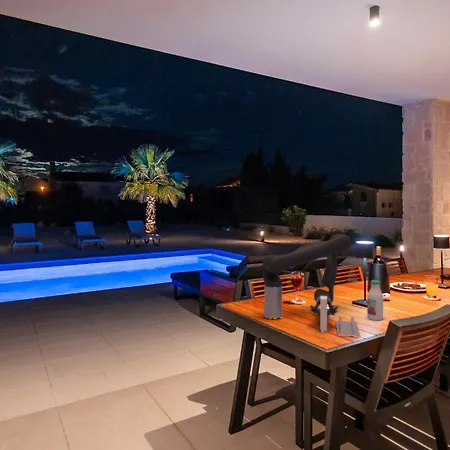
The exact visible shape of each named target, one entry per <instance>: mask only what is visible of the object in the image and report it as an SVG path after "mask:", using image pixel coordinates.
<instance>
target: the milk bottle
mask: <svg viewBox="0 0 450 450" xmlns="http://www.w3.org/2000/svg"><path fill="white" fill-rule="evenodd" d="M383 295H384V294H383V293H382V290H381V281H380V280H378V279H372V280H370V289H369V291H368V294H367V300H366V301H367V306H366V308H367V311H366V312H367V313H366V314H367V315H366V316H367V319H368V318H369V320H370V319H371V320H370V321H382V320H383V319H384V296H383Z"/></svg>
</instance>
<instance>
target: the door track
mask: <svg viewBox="0 0 450 450" xmlns="http://www.w3.org/2000/svg"><path fill="white" fill-rule="evenodd" d="M335 327H336V328H337V330H336V334H337V333H340V334H344V335H355V336H360V337H361V335H360V330H359V325H358V322H357V321H355V317H354V316H351V317H350V321H344V320H343V318H342V316H340V315H339V316H338V320H336V321H335Z"/></svg>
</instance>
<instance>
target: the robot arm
mask: <svg viewBox="0 0 450 450" xmlns="http://www.w3.org/2000/svg"><path fill="white" fill-rule="evenodd" d="M351 246H352V239H351V237H350V236H349V235H346V234H343V233H335V234H333V235H331V236H330V237H329V240H326V241H318V242H317V241H316V242H312V243H308V244H305V245H302V246H299V247H298V248H297V249H295V250H294V251H292V252H291V253H288V254H285V255H278V256H277V255H273V254H268V255H266V256H265V257H264V259H263V260H262V278H263V282H264V300H263V314H264V315H263V317H268V318H280V317H282V318H283V280H282V278H281V276H280V273H284V272H285V271H287V270H289V269H291V268H295V267H298V266H302V265H304V264H307V263H310V262H312V261H313V262H314V261H316V260H318V259H321V258H324V257H326V262H325V263H326V264H325V267H324V271H323V275H322V278H321V280H320V281H321V284H322V285H323V286H325V287H326V288H327V289H328V290H325V289H323V288H317V289H315V291H314V293H313V299H314V301H315V305H310V306H309V311H310V312H311V313H313V314H317V315H318V316H319V317H320V297H321V296H327V317H329V316H331V315H335V314H337V313H338V312H339V311H338V306H332V303H333V302H334V298H335V297H334V294H335V293H334V289H335V288H334V287H335V283H336V279H337V275H338V262H337V261H338V256H339V255H338V254H339V253H340V252H345V251H348V249H350V247H351Z"/></svg>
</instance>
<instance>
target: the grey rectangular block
mask: <svg viewBox="0 0 450 450" xmlns="http://www.w3.org/2000/svg"><path fill="white" fill-rule="evenodd" d="M319 319H320V322H319V323H320V329H319V330H322V331H327V332H328V316H327V296H321V297H320V316H319Z"/></svg>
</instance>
